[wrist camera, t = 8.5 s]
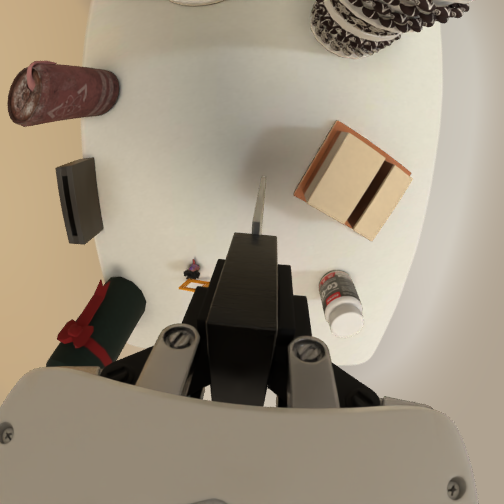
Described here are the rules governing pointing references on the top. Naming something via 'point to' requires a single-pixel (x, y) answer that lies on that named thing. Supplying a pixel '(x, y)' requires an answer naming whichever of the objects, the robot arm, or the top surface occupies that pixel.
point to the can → (60, 93)
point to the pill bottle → (341, 304)
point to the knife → (244, 316)
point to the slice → (379, 200)
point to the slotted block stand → (342, 172)
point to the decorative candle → (375, 22)
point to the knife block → (79, 200)
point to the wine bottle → (101, 326)
